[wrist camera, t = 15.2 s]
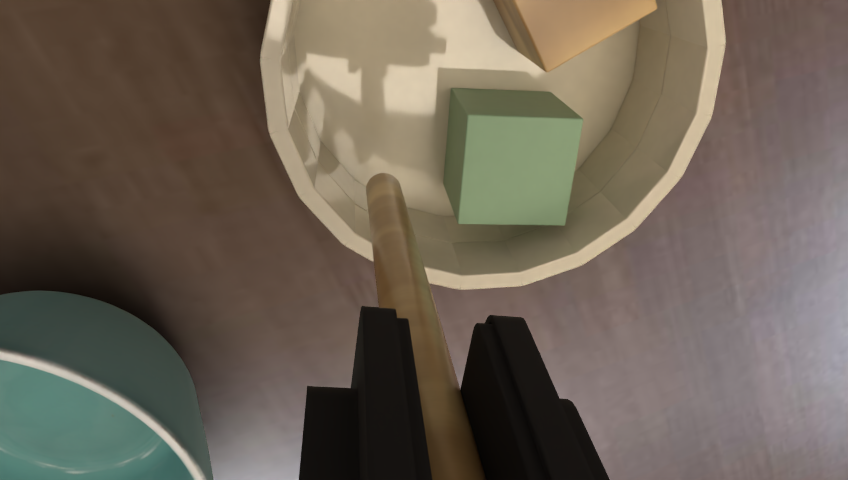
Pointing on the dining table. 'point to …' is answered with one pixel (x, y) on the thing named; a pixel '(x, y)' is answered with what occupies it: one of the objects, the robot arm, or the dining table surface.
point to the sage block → (510, 156)
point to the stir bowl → (481, 69)
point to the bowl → (93, 395)
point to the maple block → (566, 25)
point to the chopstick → (420, 332)
